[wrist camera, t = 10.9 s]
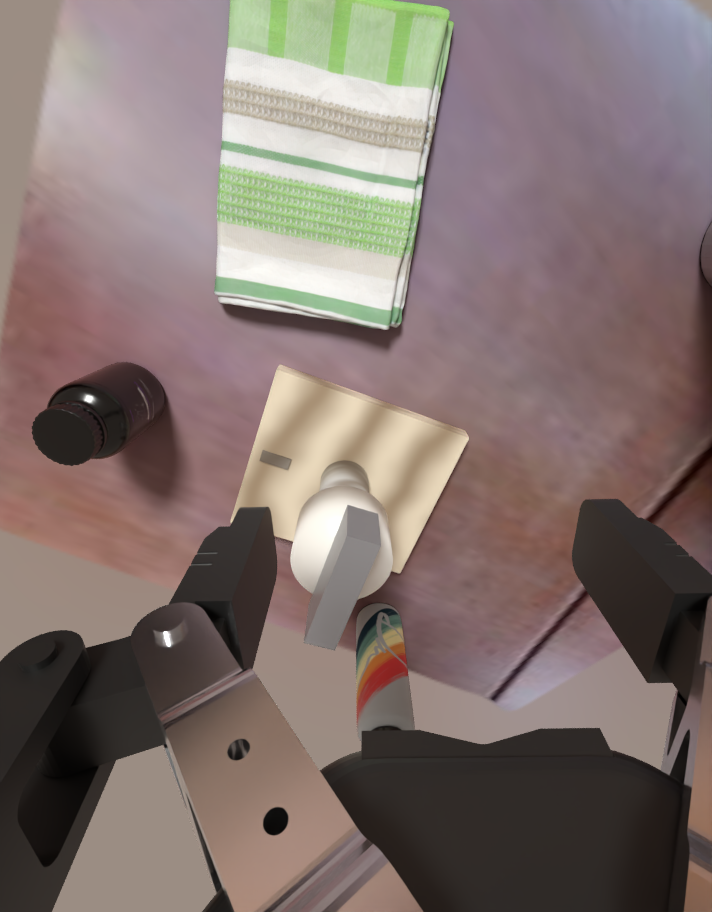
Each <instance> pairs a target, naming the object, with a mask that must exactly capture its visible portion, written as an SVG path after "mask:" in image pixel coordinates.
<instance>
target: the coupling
mask: <svg viewBox="0 0 712 912" xmlns="http://www.w3.org/2000/svg"><path fill="white" fill-rule="evenodd" d="M290 560H291V567H292V571H293V573H294V575H295V577H296V579H297V580H298V582H299V583H300V584H301V585H302V586H303V587H304V588H305V589H306V590H308V591H309V592H311V593H312V594H313V595H312V597H311V600H310V603H309V606H308V614H307V622H306V630H305V638H304V643H307V644H310V645H314V646H318V647H322V648H327V649H331V650H335V649H336V647H337V644H338V642H339V640H340V637H341V635H342V633H343V631H344V628H345V626H346V624H347V622H348V619H349V617H350V615H351V613H352V610H353V608H354V606H355V604H356V601H357V599H360V598H364V597H366V596H368V595H370V594H372V593H373V592H375V591H376V590H378V589H379V588H380V587H381V586H382V585H383V584H384V583H385V581H386V580H387V579H388V577H389V575H390V572H391V570H392V565H393V555H392V547H391V539H390V531H389V523H388V517H387V513H386V511H385V509H384V507H383V506H382V504H381V503H380V502H379V501H378V500H377V499H376V498H375V497H374V496H373V495H371V494H370V493H368V492H366V491H364V490H362V489H359V488H355V487H350V486H335V487H330V488H326V489H324V490H321V491H319V492H317V493H316V494H314V495H313V496H311V497H310V498H309V499H308V500H307V501H306V503H305V504H304V505H303V507H302V508H301V511H300V513H299V517H298V521H297V526H296V531H295V536H294V541H293V545H292V550H291V558H290Z"/></svg>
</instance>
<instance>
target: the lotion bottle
mask: <svg viewBox="0 0 712 912" xmlns="http://www.w3.org/2000/svg"><path fill="white" fill-rule="evenodd" d="M356 670H357V671H356V675H357V676H356V679H357V733H358V737H359V739H360V741H361V742H362V731H387V730H415V726H414V717H413V709H412V701H411V693H410V685H409V677H408V669H407V661H406V654H405V646H404V638H403V630H402V623H401V618H400V615H399V613H398V611H397V610H396V609H395V608H393V607H392V606H390V605H387V604H383V603H375V604H371V605H368V606H366V607H364V608H363V609H362V610H361V611H360V612H359V614H358V616H357V621H356Z"/></svg>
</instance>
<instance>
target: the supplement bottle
mask: <svg viewBox="0 0 712 912" xmlns="http://www.w3.org/2000/svg"><path fill="white" fill-rule="evenodd" d="M164 404H165V398H164V392H163V389H162V387H161V385H160V383H159V382H158V380H157V379H156V378H155V376H154V375H153V374H152V373H150V372H149V371H148V370H146V369H145V368H143V367H141V366H139V365H136V364H133V363H127V362H120V363H115V364H111V365H109V366H106V367H104V368H102V369H100V370H97V371H95V372H93V373H91V374H88V375H86V376H84V377H82V378H79V379H77V380H75V381H73V382H70V383H68V384H66V385H64V386H63V387H61V388H59V389H58V390H57V391H56V392H55V393H54V394H53V395H52V396H51V398H50V400H49V402H48V405H47V409H45V410H44V411H43V412H41V413H39V415H38V416H37V417H36V418H35V421H34V422H33V426H32V430H33V431H32V434H33V439H34V441H35V444H36V445H37V446H38V449H39V450H40V451H41V452H42V453H43V454H44V455H46V456H47V457H48V458H49V459H51V460H53V461H54V462H58V463H59V464H64V465H71V466H73V465H79V464H83V463H85V462H86V461H88V460H90V459H103V458H108V457H111V456H113V455H115V454H117V453H118V452H120V451H121V450H123V449H124V448H125V447H126V446H127V445H129V444H130V443H131V442H132V441H133V440H135V439H136V438H137V437H138V436H139V435H141V434H142V433H143V432H144V431H145V430H147V429H148V428H149V427H150V426H151V425H153V424H154V423H155V422H156V421H157V420H158V419H159V417H160V416H161V414H162V412H163V409H164Z"/></svg>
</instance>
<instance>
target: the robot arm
mask: <svg viewBox="0 0 712 912" xmlns="http://www.w3.org/2000/svg"><path fill="white" fill-rule="evenodd" d="M701 266H702V270H703V273H704V276H705V278H706V280H707V281H708V283H709V284H710V285H711V286H712V222H711V224H710V226H709V228H708V230H707V232H706V234H705V238H704V241H703V244H702V250H701ZM676 543H677V542H675V541H674V540H673V539H672V538H671V537H670V536H669V535H668V534H667V533H666V532H665V531H664V530H663V529H661V528H659V527H657V526H656V525H654V524H652V523H650V522H648V521H646V520H645V519H643V518H638V517H637V516H636V515H635V514H634V513H632V512H631V511H630V510H629V509H628V508H627V507H626V506H625V505H624V504H623V503H622V502H621V501H620V500H618V499H591V500H585V501H584V502H583V503H582V505H581V507H580V512H579V517H578V523H577V528H576V534H575V539H574V544H573V550H572V561H573V566H574V570H575V573H576V575H577V576H578V578H579V579H580V581H581V583H582V584H583V586H584V587H585V589H586V590H587V592H588V593H589V595H590V596H591V598H592V599H593V601H594V602H595V604H596V605H597V607H598V608H599V610H600V611H601V613H602V614H603V616H604V617H605V619H606V621H607V622H608V624H609V625H610V627H611V628H612V630H613V631H614V633H615V634H616V636H617V637H618V639H619V640H620V642H621V643H622V645H623V646H624V648H625V649H626V651H627V652H628V654H629V655H630V657H631V658H632V660H633V662H634V663H635V665H636V666H637V668H638V669H639V671H640V672H641V674H642V675H643V677H644V678H645V680H646V681H647V683H673V684H674V686H675V687H676V688H677V691H676V694H675V697H674V700H673V704H672V709H671V715H670V720H669V726H668V732H667V738H666V743H665V748H664V754H663V761H662V765H661V770H659V769H657V768H655V767H653V766H651V765H650V764H647V763H645V762H643V761H640V760H638V759H636V758H634V757H631V756H628V755H625V754H622V753H619V752H617V751H612V750H610V748H609V746H608V744H607V742H606V740H605V738H604V736H603V734H602V732H601V730H600V728H563V729H538V730H535V731H531V732H528V733H524V734H521V735H518V736H514V737H511V738H507V739H503V740H500V741H497V742H493V743H490V744H476V743H472V742H468V741H463V740H459V739H455V738H451V737H446V736H442V735H438V734H434V733H429V732H425V731H421V730H387V731H362V751H359V752H356V753H352V754H349V755H347V756H345V757H343V758H340V759H338V760H336V761H335V762H333V763H331V764H329V765H328V766H326V767H324V768H323V769H322V770H319V769H318V767H317V766H316V764H315V763H314V761H313V760H312V758H311V757H310V755H309V754H308V752H307V751H306V749H305V747H304V746H303V744H302V743H301V741H300V740H299V738H298V737H297V736H296V734H295V732H294V731H293V729H292V728H291V726H290V725H289V723H288V722H287V720H286V719H285V717H284V716H283V714H282V712H281V711H280V709H279V708H278V706H277V705H276V703H275V702H274V700H273V699H272V697H271V696H270V694H269V693H268V691H267V690H266V688H265V687H264V685H263V684H262V682H261V681H260V679H259V678H258V676H257V675H256V674H255V672H254V671H253V670H252V668H253V665H254V661H255V657H256V653H257V650H258V646H259V641H260V638H261V634H262V630H263V627H264V623H265V619H266V615H267V612H268V608H269V604H270V600H271V596H272V593H273V589H274V585H275V581H276V575H277V554H276V546H275V539H274V531H273V523H272V515H271V511H270V508H269V507H240V508H239V509H238V511H237V513H236V515H235V518H234V520H233V522H232V524H231V526H230V527H218V528H217V529H216V530H215V531H213V532H212V533H211V534H210V535H209V536H207V537H206V538H205V539H204V541H203V543H202V545H201V546H200V548H199V550H198V552H197V555H195V557H194V559H193V561H192V563H191V566H189V568H188V570H187V572H186V574H185V576H184V577H183V579H182V581H181V583H180V585H179V586H178V588H177V590H176V592H175V594H174V596H173V598H172V599H171V601H170V603H169V605H165V606H162V607H160V608H158V609H156V610H154V611H152V612H150V613H149V614H147V615H146V616H145V617H143V618H142V619H141V620H140V621H139V622H138V623H137V625H136V626H135V627H134V629H133V631H132V633H131V636H129V637H126V638H122V639H119V640H115V641H111V642H107V643H103V644H99V645H96V646H92V647H88V648H85V645H84V642H83V640H82V638H81V636H80V635H79V634H77V633H75V632H72V631H67V630H60V631H53V632H48V633H45V634H41V635H39V636H36V637H34V638H32V639H30V640H28V641H26V642H24V643H22V644H21V645H19V646H17V647H16V648H15V649H13V650H12V651H11V652H10V653H8V655H6V656H5V657H4V658H3V659H2V660H1V661H0V912H52V910H53V908H54V905H55V903H56V900H57V898H58V896H59V893H60V891H61V889H62V886H63V884H64V882H65V879H66V877H67V874H68V872H69V870H70V867H71V865H72V863H73V860H74V858H75V856H76V853H77V851H78V849H79V846H80V844H81V842H82V839H83V837H84V834H85V832H86V830H87V827H88V825H89V822H90V820H91V818H92V816H93V813H94V811H95V809H96V806H97V804H98V801H99V799H100V797H101V794H102V792H103V790H104V787H105V785H106V783H107V780H108V778H109V776H110V773H111V771H112V769H113V766H114V764H115V761H116V760H117V759H121V758H123V757H127V756H130V755H133V754H136V753H139V752H142V751H145V750H148V749H151V748H154V747H158V746H161V745H163V748H164V751H165V753H166V756H167V759H168V761H169V764H170V767H171V770H172V772H173V775H174V778H175V781H176V784H177V786H178V789H179V792H180V795H181V797H182V800H183V803H184V806H185V808H186V811H187V814H188V816H189V819H190V822H191V825H192V828H193V830H194V833H195V836H196V839H197V842H198V845H199V848H200V851H201V854H202V857H203V860H204V863H205V865H206V868H207V871H208V874H209V877H210V880H211V883H212V885H213V888H214V891H215V893H216V895H215V896H214V898H213V899H212V900H211V901H210V902H209V904H208V905H207V906H206V908H205V909H204V910H203V911H202V912H712V575H711V574H710V573H709V572H708V571H707V570H706V569H704V568H703V567H702V566H701V565H700V564H699V563H698V562H697V561H696V560H695V559H694V558H693V557H689V555H688V553H687V552H686V551H685V550H684V549H683V548H682V547H681V546H680V545H677V544H676Z"/></svg>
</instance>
